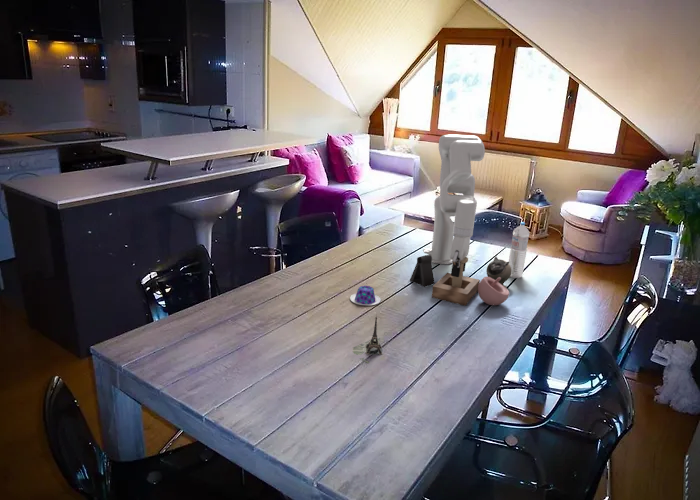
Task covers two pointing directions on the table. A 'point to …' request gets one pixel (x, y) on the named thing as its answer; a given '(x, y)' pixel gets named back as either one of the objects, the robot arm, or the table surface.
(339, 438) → the table surface
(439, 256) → the robot arm
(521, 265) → the water bottle
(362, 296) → the pudding
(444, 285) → the socket block
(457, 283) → the handle
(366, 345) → the eiffel tower figurine
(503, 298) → the mortar and pestle
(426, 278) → the door stopper
